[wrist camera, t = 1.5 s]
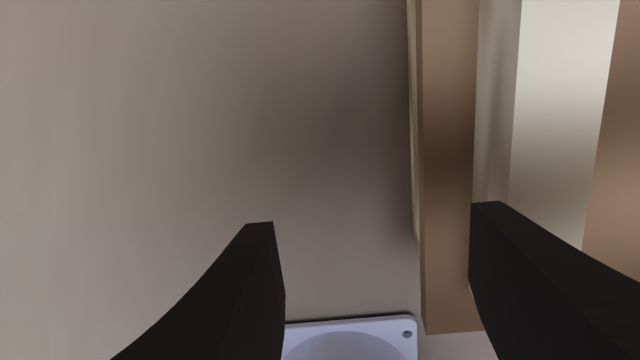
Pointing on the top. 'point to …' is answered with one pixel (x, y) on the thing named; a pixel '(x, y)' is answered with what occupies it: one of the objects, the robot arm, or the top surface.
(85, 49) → the top surface
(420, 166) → the lid
